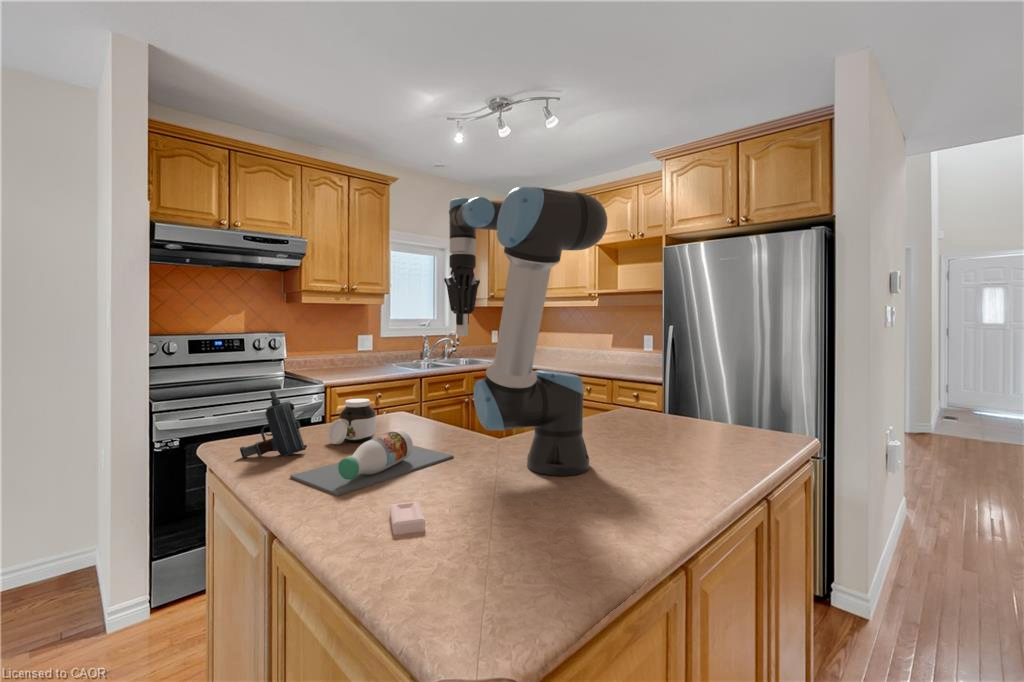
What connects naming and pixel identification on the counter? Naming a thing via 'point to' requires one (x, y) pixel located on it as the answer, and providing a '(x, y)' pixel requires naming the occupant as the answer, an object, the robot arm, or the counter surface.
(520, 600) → the counter surface
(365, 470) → the milk bottle
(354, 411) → the spread jar
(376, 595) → the counter surface
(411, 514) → the soap bar
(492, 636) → the counter surface
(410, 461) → the rubber mat
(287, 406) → the gun
